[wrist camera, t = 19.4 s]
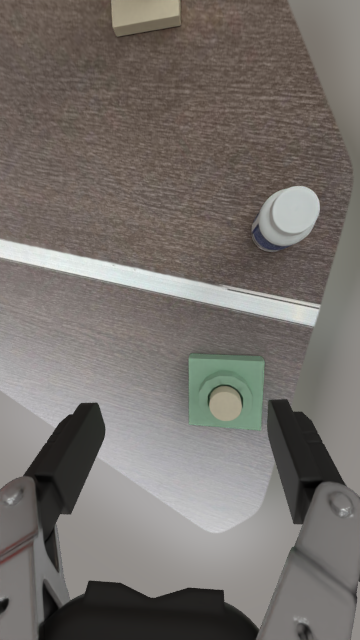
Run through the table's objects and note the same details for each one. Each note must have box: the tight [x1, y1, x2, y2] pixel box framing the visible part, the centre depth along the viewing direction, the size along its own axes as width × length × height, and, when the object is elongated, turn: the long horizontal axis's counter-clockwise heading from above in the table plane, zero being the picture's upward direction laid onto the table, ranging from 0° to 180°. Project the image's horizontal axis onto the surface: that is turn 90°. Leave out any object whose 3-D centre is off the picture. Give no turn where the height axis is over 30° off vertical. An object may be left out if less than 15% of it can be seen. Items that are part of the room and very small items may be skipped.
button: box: [209, 386, 242, 421], centre depth 31 cm, size 4×4×2 cm
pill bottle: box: [251, 186, 320, 252], centre depth 26 cm, size 5×5×10 cm
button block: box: [189, 353, 265, 431], centre depth 34 cm, size 10×10×4 cm
